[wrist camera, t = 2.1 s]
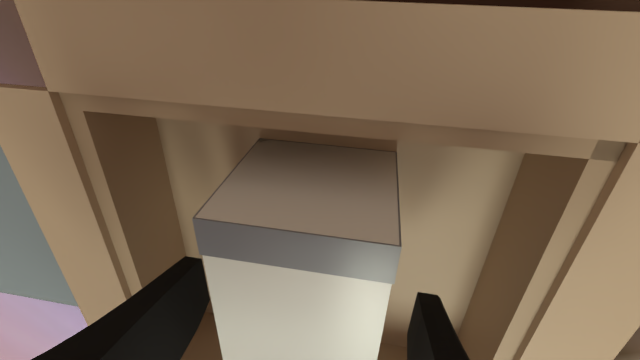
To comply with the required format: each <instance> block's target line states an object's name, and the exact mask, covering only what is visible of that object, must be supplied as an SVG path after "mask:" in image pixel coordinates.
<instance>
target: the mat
mask: <svg viewBox="0 0 640 360" xmlns="http://www.w3.org/2000/svg"><path fill="white" fill-rule="evenodd" d="M0 292H2V293H7V294H13V295H18V296H24V297H29V298H35V299H40V300H46V301H51V302H56V303H62V304H67V305H73V306H78V304H77V302H76V300H75V298H74V296H73V294H72V292H71V290H70V288H69V285H68V283H67V281H66V279H65V277H64V275H63V273H62V271H61V269H60V267H59V265H58V263H57V261H56V259H55V257H54V255H53V252H52V250H51V248H50V246H49V244H48V242H47V240H46V238H45V236H44V234H43V232H42V230H41V228H40V226H39V224H38V222H37V219H36V217H35V215H34V213H33V211H32V209H31V207H30V205H29V203H28V201H27V199H26V197H25V195H24V193H23V191H22V189H21V187H20V184H19V182H18V180H17V178H16V176H15V174H14V172H13V170H12V168H11V166H10V164H9V162H8V160H7V158H6V156H5V154H4V151H3V149H2V147H1V145H0ZM78 307H79V306H78Z"/></svg>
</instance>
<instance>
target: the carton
mask: <svg viewBox="0 0 640 360" xmlns="http://www.w3.org/2000/svg"><path fill="white" fill-rule="evenodd" d="M14 2H15V5H16V7H17V10H18V13H19V15H20V18H21V21H22V23H23V26H24V29H25V31H26V34H27V37H28V39H29V42H30V45H31V47H32V50H33V53H34V55H35V58H36V61H37V63H38V66H39V69H40V71H41V74H42V77H43V79H44V82H45V85H46V87H47V88H46V87H34V86H23V85H11V84H0V145H1V147H2V149H3V151H4V154H5V156H6V158H7V160H8V162H9V164H10V166H11V168H12V170H13V172H14V174H15V176H16V178H17V180H18V182H19V184H20V187H21V189H22V191H23V193H24V195H25V197H26V199H27V201H28V203H29V205H30V207H31V209H32V211H33V213H34V215H35V217H36V219H37V222H38V224H39V226H40V228H41V230H42V232H43V234H44V236H45V238H46V240H47V242H48V244H49V246H50V248H51V250H52V252H53V255H54V257H55V259H56V261H57V263H58V265H59V267H60V269H61V271H62V273H63V275H64V277H65V279H66V281H67V283H68V285H69V288H70V290H71V292H72V294H73V296H74V298H75V300H76V302H77V304H78V306H79V308H80V310H81V312H82V314H83V316H84V318H85V321H86V323H87V325H88V326H89V325H91V324H92V323H94V322H95V321H97V320H98V319H100V318H101V317H103V316H104V315H106V314H107V313H108V312H110V311H111V310H113V309H114V308H116V307H117V306H119V305H120V304H122V303H123V302H125V301H126V300H127V299H129V298H130V297H131V296H133V295H134V294H135V293H137V292H138V291H139V290H141V289H142V288H144V287H145V286H146V285H148V284H149V283H150V282H152V281H153V280H154V279H156V278H157V277H158V276H159V275H161V274H162V273H163V272H165V271H166V270H167V269H169V268H170V267H171V266H173V265H174V264H175V263H177V262H178V261H179V260H181V259H182V258H183V257H185V256H188V257H194V258H201V259H202V262H203V267H204V261H203V256H202V255H199V251H198V246H197V241H196V236H195V231H194V226H193V221H192V218H193V217H194V215H195V214H196V213H197V212H198V211H199V209H200V208H201V207H202V206H203V205H204V203H205V202H206V201H207V200H208V199H209V197H210V196H211V195H212V194H213V193H214V191H215V190H216V189H217V188H218V187H219V185H220V184H221V183H222V182H223V181H224V180H225V178H226V177H227V176H228V175H229V174H230V172H231V171H232V170H233V169H234V168H235V166H236V165H237V164H238V163H239V162H240V160H241V159H242V158H243V157H244V156H245V154H246V153H247V152H248V151H249V150H250V149H251V147H252V146H253V145H254V144H255V143H256V141H257V140H258V139H259V138H263V139H273V140H283V141H293V142H303V143H313V144H323V145H333V146H343V147H353V148H363V149H373V150H383V151H394V152H397V163H398V183H399V203H400V223H401V243H402V248H401V253H400V258H399V263H398V268H397V273H396V278H395V283H394V284H392V286H391V291H390V296H389V301H388V307H387V312H386V317H385V322H384V327H383V332H382V337H381V343H380V348H379V353H378V358H377V360H407V332H408V328H409V324H410V320H411V316H412V312H413V308H414V304H415V300H416V296H417V292H422V293H428V294H435V295H438V296H439V297H440V298H441V301H442V303H443V306H444V308H445V310H446V312H447V315H448V317H449V319H450V321H451V323H452V326H453V328H454V330H455V332H456V334H457V336H458V338H459V340H460V342H461V344H462V346H463V348H464V350H465V351H466V353H467V355H468V357H469V359H470V360H613V359H614V358H615V357H616V356H617V354H618V353H619V352H620V350H621V349H622V348H623V347H624V345H625V344H626V343H627V341H628V340H629V339H630V338H631V336H632V335H633V334H634V332H635V331H636V330H637V329H638V327H639V326H640V12H633V11H609V10H584V9H560V8H535V7H511V6H487V5H462V4H438V3H413V2H389V1H364V0H14ZM204 272H205V267H204ZM205 277H206V272H205ZM206 282H207V277H206ZM207 287H208V282H207ZM208 292H209V287H208ZM209 297H210V292H209ZM180 360H223V358H222V353H221V348H220V343H219V338H218V332H217V327H216V322H215V317H214V312H213V307H212V302H211V297H210V301H209V303H208V306H207V308H206V311H205V313H204V316H203V318H202V320H201V322H200V325H199V327H198V329H197V331H196V333H195V335H194V336H193V338H192V340H191V342H190V344H189V345H188V347H187V349H186V351H185V352H184V354H183V356H182V358H181V359H180Z"/></svg>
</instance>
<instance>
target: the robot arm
mask: <svg viewBox="0 0 640 360" xmlns="http://www.w3.org/2000/svg"><path fill="white" fill-rule="evenodd" d="M209 301H210V297H209V292H208V287H207V282H206V277H205V272H204V267H203V262H202V259H201V258H194V257H188V256H185V257H183V258H182V259H181V260H179V261H178V262H177V263H175V264H174V265H173V266H171V267H170V268H169V269H167V270H166V271H165V272H163V273H162V274H161V275H159V276H158V277H157V278H156V279H154V280H153V281H152V282H150V283H149V284H148V285H146V286H145V287H144V288H142V289H141V290H139V291H138V292H137V293H135V294H134V295H133V296H131V297H130V298H129V299H127V300H126V301H125V302H123V303H122V304H120V305H119V306H117V307H116V308H114V309H113V310H111V311H110V312H108V313H107V314H106V315H104V316H103V317H101V318H100V319H98V320H97V321H95V322H94V323H92V324H91V325H89V326H88V327H86V328H85V329H83V330H81V331H80V332H78V333H77V334H75V335H73V336H72V337H70V338H68V339H67V340H65V341H63V342H62V343H60V344H58V345H57V346H55V347H53V348H52V349H50V350H48V351H46V352H45V353H43V354H41V355H39V356H37V357H35V358H33V359H31V360H180V359H181V358H182V356H183V354H184V352H185V351H186V349H187V347H188V345H189V344H190V342H191V340H192V338H193V336H194V335H195V333H196V331H197V329H198V327H199V325H200V322H201V320H202V318H203V316H204V313H205V311H206V308H207V306H208V303H209ZM407 360H470V359H469V357H468V355H467V353H466V351H465V350H464V348H463V346H462V344H461V342H460V340H459V338H458V336H457V334H456V332H455V330H454V328H453V326H452V323H451V321H450V319H449V317H448V315H447V312H446V310H445V308H444V306H443V303H442V301H441V298H440V297H439V296H438V295H435V294H428V293H422V292H417V296H416V300H415V304H414V308H413V312H412V316H411V320H410V324H409V328H408V332H407Z"/></svg>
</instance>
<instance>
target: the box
mask: <svg viewBox="0 0 640 360" xmlns="http://www.w3.org/2000/svg"><path fill="white" fill-rule="evenodd" d="M192 221H193V226H194V231H195V236H196V241H197V246H198V251H199V255H202V256H203V261H204V267H205V272H206V277H207V282H208V287H209V292H210V297H211V302H212V307H213V312H214V317H215V322H216V327H217V332H218V338H219V343H220V348H221V353H222V358H223V360H377V358H378V353H379V348H380V343H381V337H382V332H383V327H384V322H385V317H386V312H387V307H388V301H389V296H390V291H391V286H392V284H394V283H395V278H396V273H397V268H398V263H399V258H400V253H401V248H402V243H401V223H400V203H399V183H398V163H397V152H394V151H383V150H373V149H363V148H353V147H343V146H333V145H323V144H313V143H303V142H293V141H283V140H273V139H263V138H259V139H258V140H257V141H256V143H255V144H254V145H253V146H252V147H251V149H250V150H249V151H248V152H247V153H246V154H245V156H244V157H243V158H242V159H241V160H240V162H239V163H238V164H237V165H236V166H235V168H234V169H233V170H232V171H231V172H230V174H229V175H228V176H227V177H226V178H225V180H224V181H223V182H222V183H221V184H220V185H219V187H218V188H217V189H216V190H215V191H214V193H213V194H212V195H211V196H210V197H209V199H208V200H207V201H206V202H205V203H204V205H203V206H202V207H201V208H200V209H199V211H198V212H197V213H196V214H195V215H194V217H193V218H192Z"/></svg>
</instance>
